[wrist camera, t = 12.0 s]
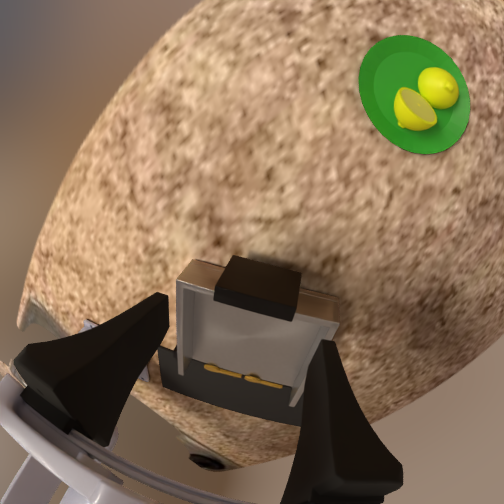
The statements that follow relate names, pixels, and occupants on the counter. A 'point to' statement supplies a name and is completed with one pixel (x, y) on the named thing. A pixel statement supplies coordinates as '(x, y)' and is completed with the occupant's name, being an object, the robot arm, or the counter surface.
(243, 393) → the dark grey panel
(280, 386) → the key
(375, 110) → the green plate with lemons
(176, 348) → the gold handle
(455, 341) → the counter surface
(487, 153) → the counter surface
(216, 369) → the key
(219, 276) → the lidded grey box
